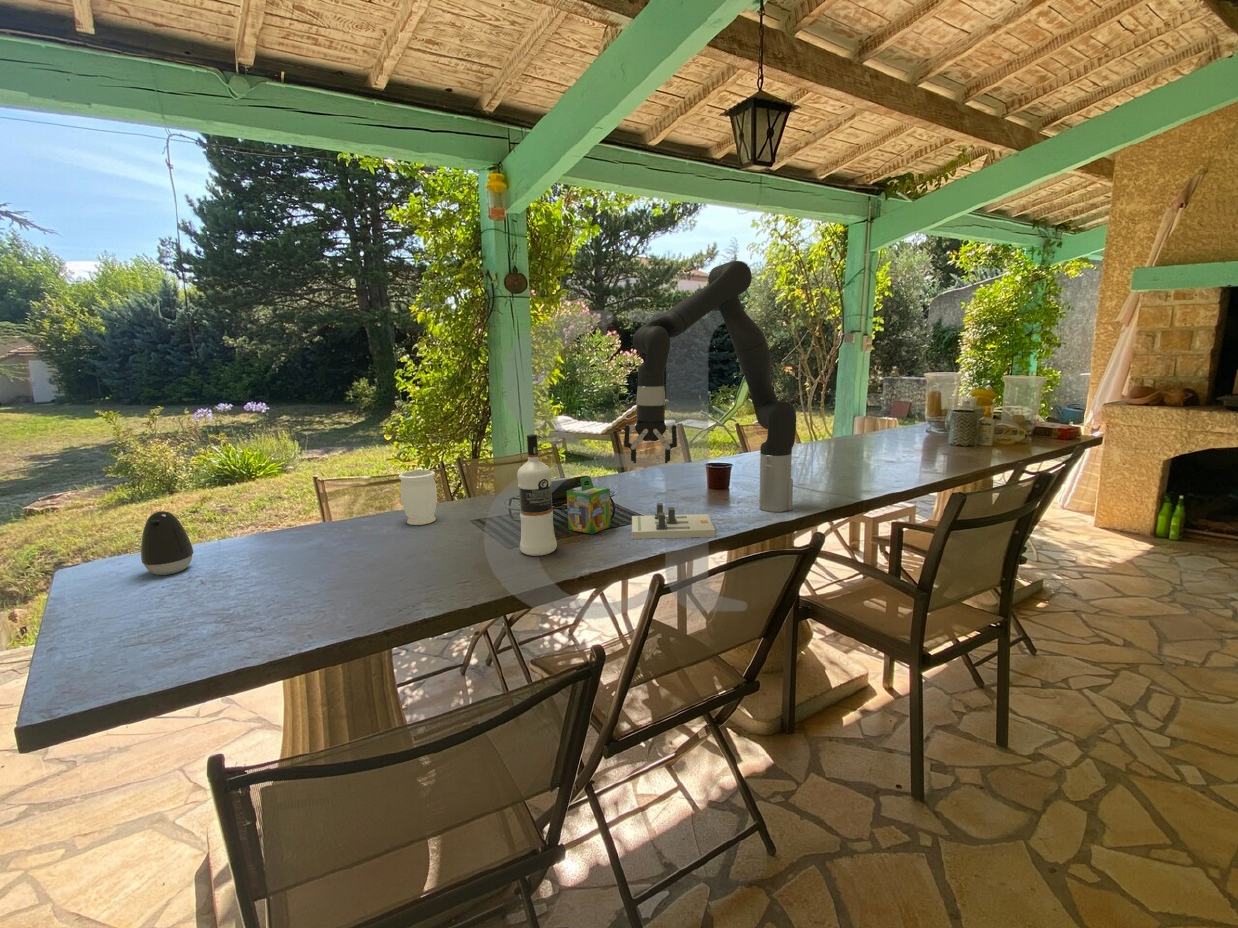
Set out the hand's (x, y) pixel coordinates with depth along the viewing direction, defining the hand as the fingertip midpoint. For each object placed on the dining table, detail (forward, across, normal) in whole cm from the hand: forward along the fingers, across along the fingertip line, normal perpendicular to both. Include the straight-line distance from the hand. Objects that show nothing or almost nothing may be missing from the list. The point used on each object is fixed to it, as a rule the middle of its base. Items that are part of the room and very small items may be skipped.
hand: (650, 462), depth 165 cm
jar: (+21, +69, -12) cm, 74 cm away
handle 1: (+17, -3, -6) cm, 18 cm away
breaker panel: (+19, -6, -1) cm, 20 cm away
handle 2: (+17, -3, +4) cm, 18 cm away
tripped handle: (+17, -6, -1) cm, 18 cm away
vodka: (+20, +28, +15) cm, 38 cm away
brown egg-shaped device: (+23, +117, +28) cm, 122 cm away
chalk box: (+20, +17, -3) cm, 26 cm away
